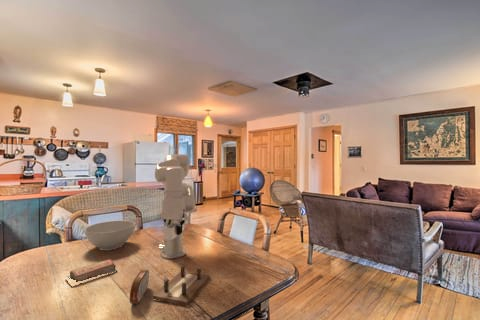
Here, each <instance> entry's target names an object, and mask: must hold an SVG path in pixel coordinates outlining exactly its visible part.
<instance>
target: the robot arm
mask: <svg viewBox="0 0 480 320" xmlns="http://www.w3.org/2000/svg"><path fill="white" fill-rule="evenodd" d="M190 161H191V159H190V157H189V156H188V155H187V154H186V153H185V154H182V153H181V154H179V153H178V154H177V153H176V154H175V153H173V154H167V156H166V157H165V158H164V160H163V161H161V162H159V163H156V165H155V169H154V178H155V180H156V181H157V182H158V183H162V184H163V186H164V191H163V194H164V197H163V198H162V201H161V208H162V211H161V215H160V219H161V220H162V221H163V228H164V227H165V226H167V225H169V224H170V223H172V222H173V221H175V220H177V223H178V226H177V236H176V237H175V238H174V239H172V240H170V239H164V238H163V244H159V245H158V246H159V247H158V250H159V251H162V252H160V253H161V254H160V255H161V258H163V259H168V260H171V259H173V260H174V259H178V258H181V257H183V256H184V255H186V249H184V248H183V231H182V225H183V224H184V225H185V224H186V222H187V221H188V220H190V219H189V218H190V217H189V216H188V215H187V214H188V213H192V212H194V211H195V209H196V198H195V195H194V194H195V193H194V189H193V187H192V185H190V184H183V181H184V179H185V178H186V177H187V176H188V175H189V171H190V167H191V164H190Z"/></svg>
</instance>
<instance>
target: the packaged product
mask: <svg viewBox="0 0 480 320" xmlns="http://www.w3.org/2000/svg"><path fill="white" fill-rule="evenodd" d="M115 271H117V272H118V270H117V269H116V264H115V262H114V261H112V260H111V259H106V260H102V261H99V262H95V263H91V264H87V265H85V266H82V267H78V268H73V269H72V270H70V271H69V275H67V276H65V277H68V278H69V277H70V278H71V279H73V280H76V282H78V281H83V280H86V279H89V278H92V277H97V276H98V275H102V274H107V273H108V274H109V273H112V272H115ZM70 278H69V279H70Z"/></svg>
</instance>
